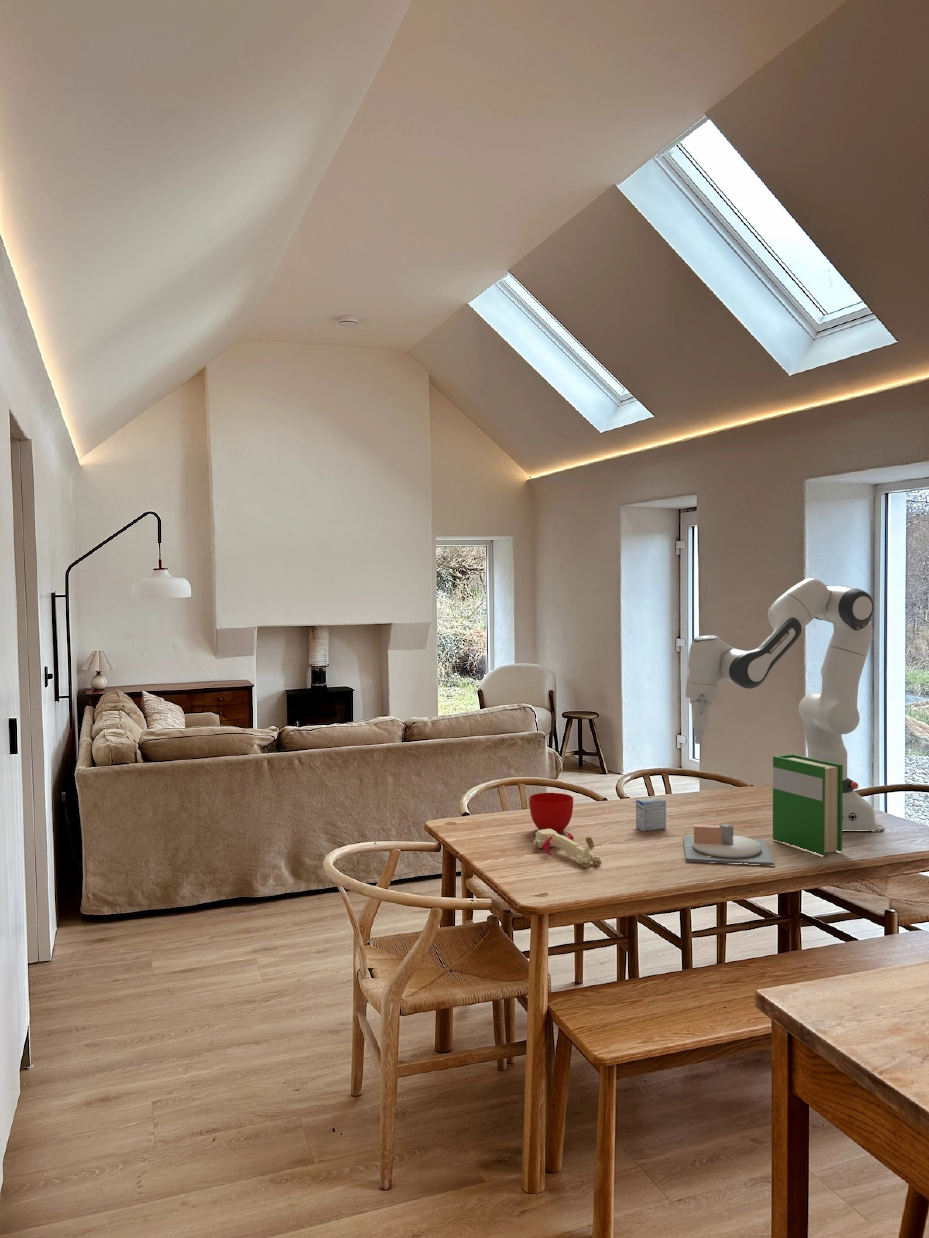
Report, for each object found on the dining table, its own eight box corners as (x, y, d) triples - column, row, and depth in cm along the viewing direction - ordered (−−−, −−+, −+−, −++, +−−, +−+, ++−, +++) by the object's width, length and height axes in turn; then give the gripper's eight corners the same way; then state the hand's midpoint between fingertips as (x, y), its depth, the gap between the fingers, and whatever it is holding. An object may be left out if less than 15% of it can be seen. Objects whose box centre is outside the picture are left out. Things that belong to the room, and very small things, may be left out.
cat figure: (607, 869, 238) (552, 838, 260) (609, 837, 237) (554, 808, 259) (576, 875, 233) (523, 843, 255) (577, 842, 232) (524, 813, 254)
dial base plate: (763, 842, 256) (763, 838, 256) (774, 866, 235) (774, 861, 235) (683, 838, 261) (683, 834, 261) (686, 862, 239) (686, 857, 239)
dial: (757, 840, 255) (757, 818, 254) (765, 859, 237) (765, 836, 237) (690, 837, 258) (690, 815, 258) (693, 855, 241) (693, 833, 240)
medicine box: (657, 825, 276) (657, 796, 275) (666, 828, 272) (666, 800, 271) (635, 828, 273) (635, 799, 272) (643, 831, 269) (643, 802, 268)
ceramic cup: (572, 822, 280) (572, 789, 280) (573, 837, 263) (573, 803, 263) (530, 821, 281) (530, 789, 281) (528, 836, 264) (528, 802, 264)
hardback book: (841, 853, 246) (842, 764, 245) (821, 857, 243) (822, 767, 242) (792, 837, 262) (792, 753, 261) (772, 840, 258) (773, 756, 258)
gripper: (714, 699, 249) (710, 748, 251) (711, 688, 269) (707, 734, 271) (690, 696, 251) (686, 746, 252) (689, 686, 271) (685, 732, 272)
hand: (697, 740), depth 261 cm, fingers open, 8 cm apart
